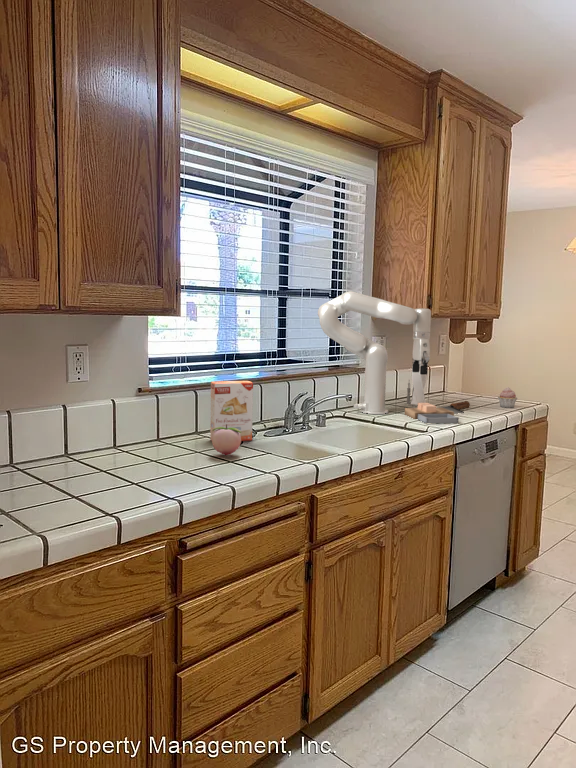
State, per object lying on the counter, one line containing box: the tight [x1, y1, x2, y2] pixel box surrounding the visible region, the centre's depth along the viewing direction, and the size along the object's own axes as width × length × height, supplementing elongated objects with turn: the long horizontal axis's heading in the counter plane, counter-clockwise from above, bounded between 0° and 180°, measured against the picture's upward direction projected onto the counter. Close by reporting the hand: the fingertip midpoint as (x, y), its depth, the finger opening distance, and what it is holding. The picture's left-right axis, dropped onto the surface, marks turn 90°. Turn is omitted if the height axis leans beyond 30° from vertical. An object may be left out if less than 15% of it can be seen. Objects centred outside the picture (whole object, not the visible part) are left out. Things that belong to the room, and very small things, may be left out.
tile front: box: [422, 404, 437, 412], centre depth 252 cm, size 4×4×2 cm
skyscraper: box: [405, 361, 428, 407], centre depth 287 cm, size 8×8×28 cm
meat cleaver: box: [439, 400, 471, 415], centre depth 269 cm, size 34×11×4 cm, turn 133°
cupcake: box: [497, 386, 518, 409], centre depth 285 cm, size 9×9×10 cm
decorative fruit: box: [211, 424, 242, 456], centre depth 179 cm, size 9×8×10 cm
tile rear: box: [417, 402, 432, 410], centre depth 257 cm, size 4×4×2 cm
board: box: [404, 407, 455, 420], centre depth 254 cm, size 18×12×3 cm, turn 99°
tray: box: [417, 414, 459, 424], centre depth 243 cm, size 14×10×2 cm
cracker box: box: [209, 380, 254, 442], centre depth 201 cm, size 14×6×21 cm, turn 112°
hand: (419, 373), depth 262 cm, fingers open, 9 cm apart
